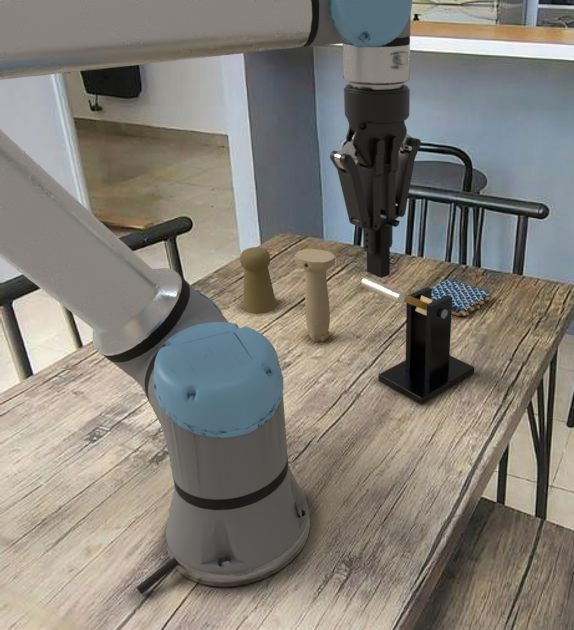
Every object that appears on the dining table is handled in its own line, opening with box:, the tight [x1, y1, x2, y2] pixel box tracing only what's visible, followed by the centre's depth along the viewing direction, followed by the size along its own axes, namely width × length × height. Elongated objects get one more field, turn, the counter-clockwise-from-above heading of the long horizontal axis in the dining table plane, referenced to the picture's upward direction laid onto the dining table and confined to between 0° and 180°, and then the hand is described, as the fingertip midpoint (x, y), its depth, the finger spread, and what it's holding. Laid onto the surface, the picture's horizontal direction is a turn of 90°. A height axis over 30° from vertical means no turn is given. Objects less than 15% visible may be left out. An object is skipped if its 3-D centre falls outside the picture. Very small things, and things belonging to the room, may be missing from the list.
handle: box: [294, 248, 336, 343], centre depth 111 cm, size 5×6×15 cm
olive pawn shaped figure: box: [239, 246, 277, 314], centre depth 122 cm, size 6×6×11 cm
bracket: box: [377, 286, 475, 406], centre depth 101 cm, size 12×9×14 cm
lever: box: [360, 276, 434, 316], centre depth 95 cm, size 13×7×2 cm
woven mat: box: [431, 278, 491, 317], centre depth 127 cm, size 10×11×2 cm
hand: (378, 273), depth 88 cm, fingers closed
